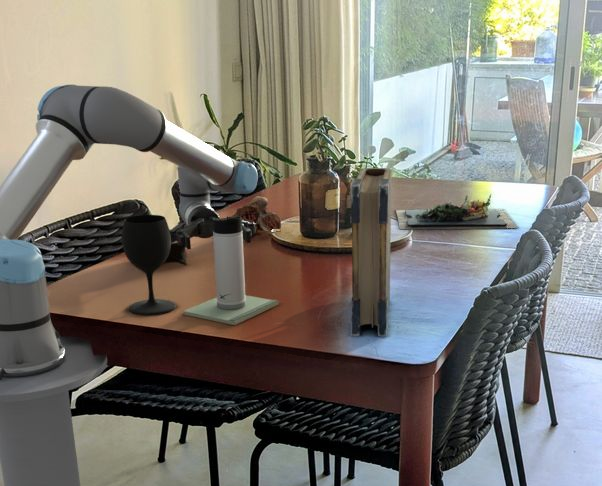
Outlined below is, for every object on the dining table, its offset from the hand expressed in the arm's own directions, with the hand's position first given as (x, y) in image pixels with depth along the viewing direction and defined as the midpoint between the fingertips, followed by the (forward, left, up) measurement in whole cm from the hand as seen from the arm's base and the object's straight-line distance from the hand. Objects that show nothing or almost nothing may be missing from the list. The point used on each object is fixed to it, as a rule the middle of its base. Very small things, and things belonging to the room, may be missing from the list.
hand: (219, 240), depth 193 cm
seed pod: (+54, +30, -13) cm, 63 cm away
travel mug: (-6, -7, -13) cm, 16 cm away
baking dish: (+16, +34, -13) cm, 40 cm away
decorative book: (+5, -37, -13) cm, 39 cm away
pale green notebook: (-6, -7, -13) cm, 16 cm away
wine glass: (-14, +9, -13) cm, 21 cm away
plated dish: (+100, -12, -13) cm, 102 cm away
